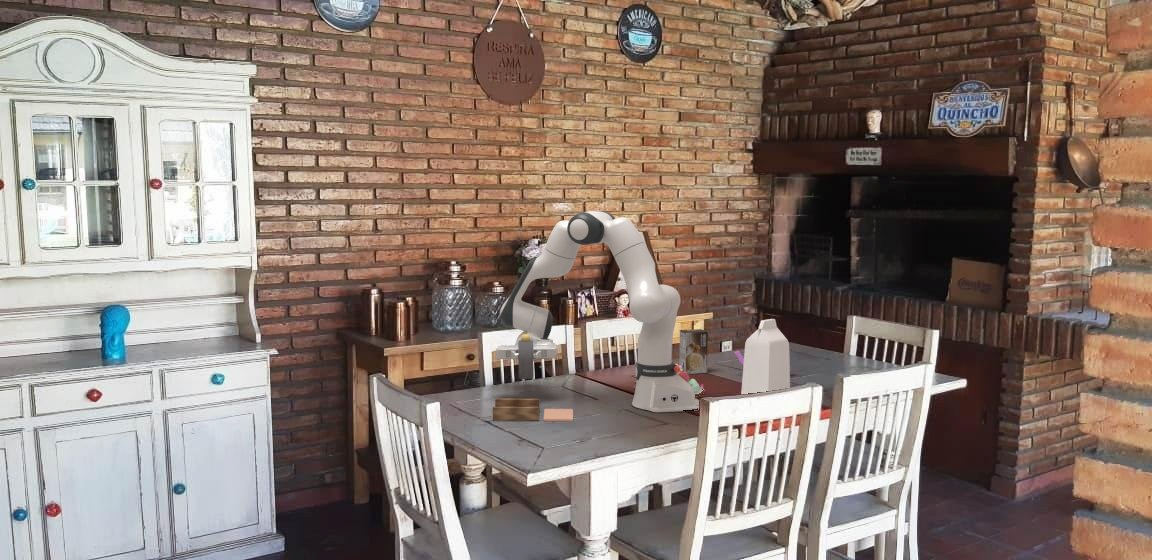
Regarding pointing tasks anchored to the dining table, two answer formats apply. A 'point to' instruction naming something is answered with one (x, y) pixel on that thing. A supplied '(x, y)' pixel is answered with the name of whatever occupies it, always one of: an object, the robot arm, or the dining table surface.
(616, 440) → the dining table surface
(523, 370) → the grey tall block
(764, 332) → the milk
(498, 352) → the robot arm
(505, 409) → the guide channel
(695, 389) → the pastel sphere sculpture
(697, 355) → the coffee box
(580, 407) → the dining table surface
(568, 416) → the terracotta tile
